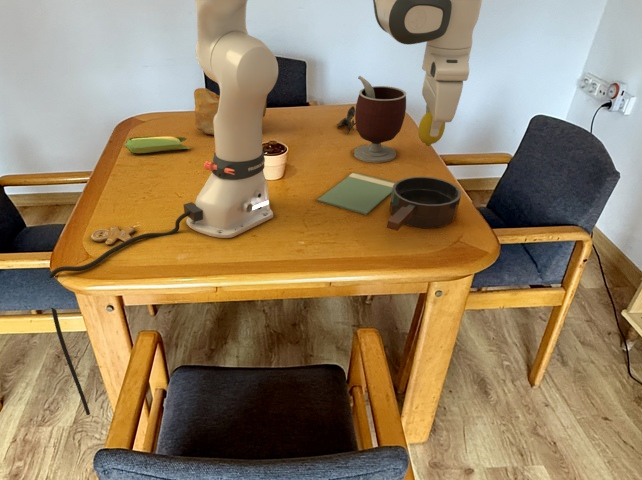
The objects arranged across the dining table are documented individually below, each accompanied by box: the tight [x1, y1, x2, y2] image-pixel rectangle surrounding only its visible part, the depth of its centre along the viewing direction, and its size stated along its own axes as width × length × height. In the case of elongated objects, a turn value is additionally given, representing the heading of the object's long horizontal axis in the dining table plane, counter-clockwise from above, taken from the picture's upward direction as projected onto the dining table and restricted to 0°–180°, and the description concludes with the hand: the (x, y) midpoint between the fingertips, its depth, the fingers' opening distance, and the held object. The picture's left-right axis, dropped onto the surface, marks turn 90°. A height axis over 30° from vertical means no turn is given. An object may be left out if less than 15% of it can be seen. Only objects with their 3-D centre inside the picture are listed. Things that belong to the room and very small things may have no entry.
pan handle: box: [385, 204, 416, 232], centre depth 119 cm, size 12×3×2 cm, turn 145°
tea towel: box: [316, 172, 396, 216], centre depth 139 cm, size 20×14×1 cm
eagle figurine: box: [336, 106, 356, 135], centre depth 172 cm, size 8×7×9 cm
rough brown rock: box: [193, 87, 268, 136], centre depth 173 cm, size 23×17×15 cm
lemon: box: [417, 111, 446, 147], centre depth 117 cm, size 6×6×8 cm
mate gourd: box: [353, 75, 407, 164], centre depth 152 cm, size 16×14×20 cm
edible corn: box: [124, 135, 191, 155], centre depth 162 cm, size 5×20×5 cm, turn 98°
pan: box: [388, 176, 462, 229], centre depth 128 cm, size 16×16×6 cm
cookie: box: [91, 225, 136, 246], centre depth 125 cm, size 8×1×10 cm
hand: (431, 130), depth 118 cm, fingers closed on lemon, 5 cm apart
